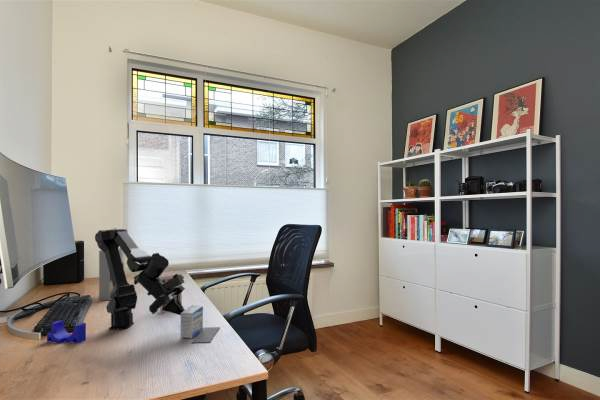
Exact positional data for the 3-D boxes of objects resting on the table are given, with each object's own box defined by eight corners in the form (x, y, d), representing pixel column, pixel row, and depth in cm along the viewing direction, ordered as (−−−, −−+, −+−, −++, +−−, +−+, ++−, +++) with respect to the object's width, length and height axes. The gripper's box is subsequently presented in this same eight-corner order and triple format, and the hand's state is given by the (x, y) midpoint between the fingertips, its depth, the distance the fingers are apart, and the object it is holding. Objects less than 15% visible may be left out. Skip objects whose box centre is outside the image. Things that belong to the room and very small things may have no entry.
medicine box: (191, 339, 113) (192, 313, 113) (179, 337, 114) (180, 312, 114) (203, 329, 121) (203, 305, 121) (191, 328, 122) (192, 304, 122)
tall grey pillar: (110, 300, 168) (110, 250, 169) (98, 300, 169) (98, 250, 170) (125, 293, 182) (125, 247, 183) (114, 293, 182) (114, 247, 183)
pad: (191, 343, 110) (191, 342, 110) (203, 328, 124) (203, 327, 124) (209, 342, 110) (209, 341, 110) (220, 327, 124) (219, 327, 124)
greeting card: (161, 312, 145) (161, 277, 145) (150, 310, 149) (150, 276, 149) (183, 306, 155) (182, 273, 155) (172, 304, 158) (172, 272, 159)
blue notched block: (46, 342, 114) (46, 324, 114) (59, 337, 118) (59, 320, 118) (73, 345, 110) (73, 327, 111) (85, 340, 115) (85, 323, 115)
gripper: (158, 272, 109) (192, 305, 109) (179, 263, 128) (208, 292, 127) (134, 297, 109) (168, 330, 108) (158, 285, 128) (188, 313, 127)
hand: (185, 315), depth 118 cm, fingers closed
